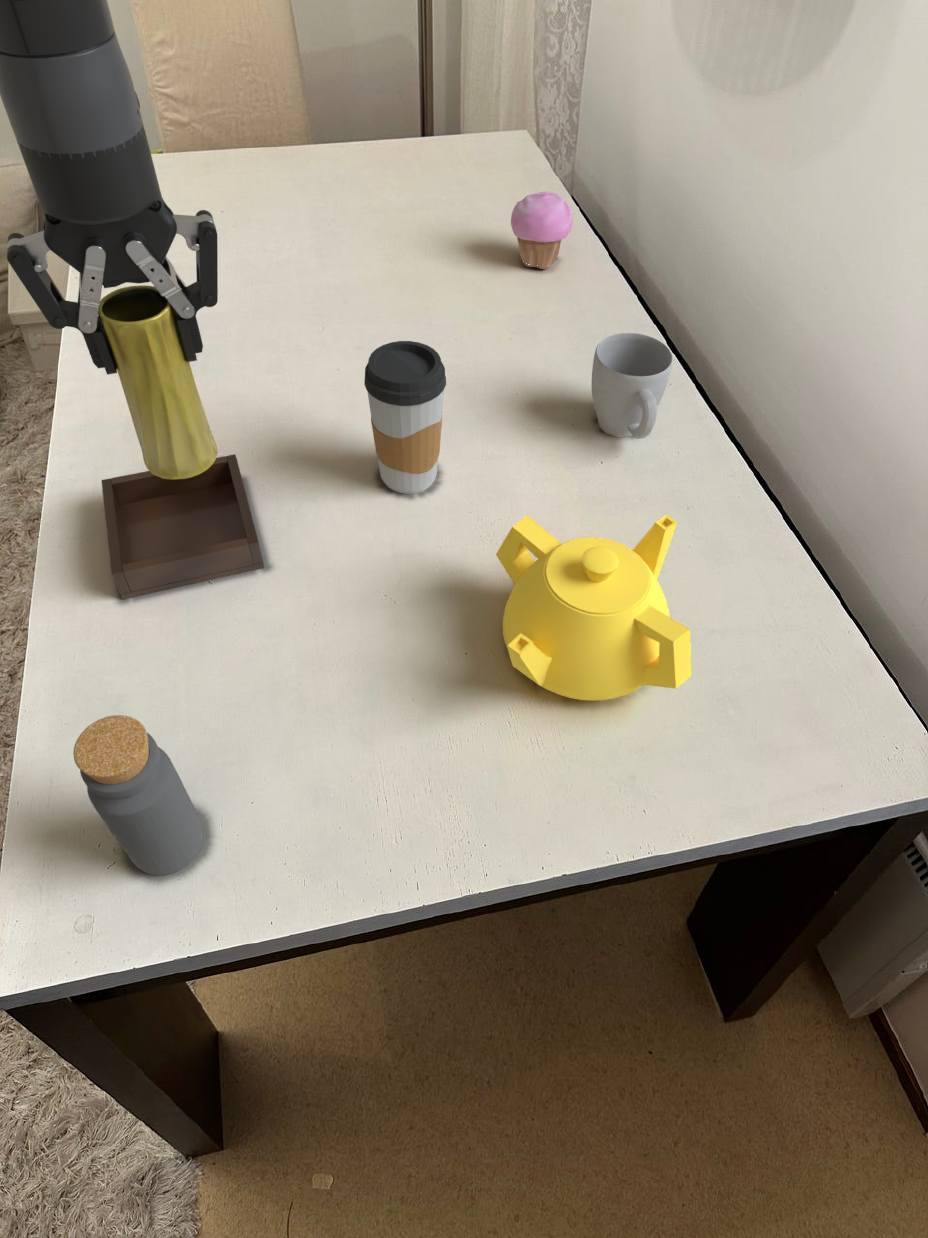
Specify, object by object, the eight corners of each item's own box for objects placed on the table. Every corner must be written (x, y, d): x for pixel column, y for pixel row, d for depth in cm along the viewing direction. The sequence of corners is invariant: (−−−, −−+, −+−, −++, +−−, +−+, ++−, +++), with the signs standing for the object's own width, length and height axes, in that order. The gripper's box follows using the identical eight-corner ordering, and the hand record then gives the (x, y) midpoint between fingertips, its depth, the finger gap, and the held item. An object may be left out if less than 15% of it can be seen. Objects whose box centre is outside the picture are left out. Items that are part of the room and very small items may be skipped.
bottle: (130, 885, 65) (63, 794, 53) (127, 817, 68) (63, 718, 57) (208, 865, 66) (158, 771, 54) (201, 800, 70) (153, 698, 58)
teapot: (681, 720, 75) (715, 638, 66) (496, 717, 75) (504, 634, 66) (655, 581, 86) (681, 493, 77) (492, 578, 86) (499, 489, 77)
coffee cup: (415, 443, 99) (412, 328, 87) (460, 480, 95) (463, 365, 83) (357, 472, 96) (346, 356, 84) (401, 512, 92) (396, 397, 80)
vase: (137, 445, 73) (83, 292, 62) (207, 426, 75) (166, 274, 63) (154, 489, 69) (99, 335, 58) (227, 468, 71) (187, 314, 60)
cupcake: (571, 253, 128) (580, 186, 120) (561, 282, 123) (570, 213, 115) (514, 245, 129) (519, 178, 122) (502, 273, 124) (506, 204, 116)
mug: (574, 405, 104) (585, 335, 97) (642, 397, 106) (657, 328, 98) (604, 468, 97) (618, 398, 90) (676, 459, 98) (696, 390, 91)
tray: (122, 600, 83) (111, 574, 80) (112, 506, 91) (101, 479, 88) (264, 568, 86) (258, 541, 83) (241, 480, 94) (235, 453, 91)
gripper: (-52, 161, 48) (55, 407, 61) (204, 134, 51) (253, 374, 64) (-45, 110, 52) (53, 349, 65) (190, 88, 55) (239, 321, 68)
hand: (152, 360), depth 65 cm, fingers closed on vase, 5 cm apart
